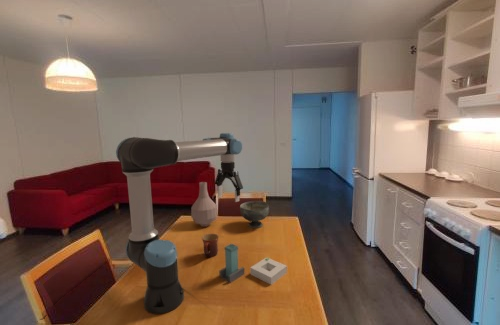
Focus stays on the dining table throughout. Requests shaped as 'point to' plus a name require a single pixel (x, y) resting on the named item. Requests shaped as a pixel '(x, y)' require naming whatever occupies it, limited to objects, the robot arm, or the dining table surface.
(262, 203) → the bowl
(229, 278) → the grey u-shaped block
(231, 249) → the plug
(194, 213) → the vase
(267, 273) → the port
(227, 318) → the dining table surface
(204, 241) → the mug
